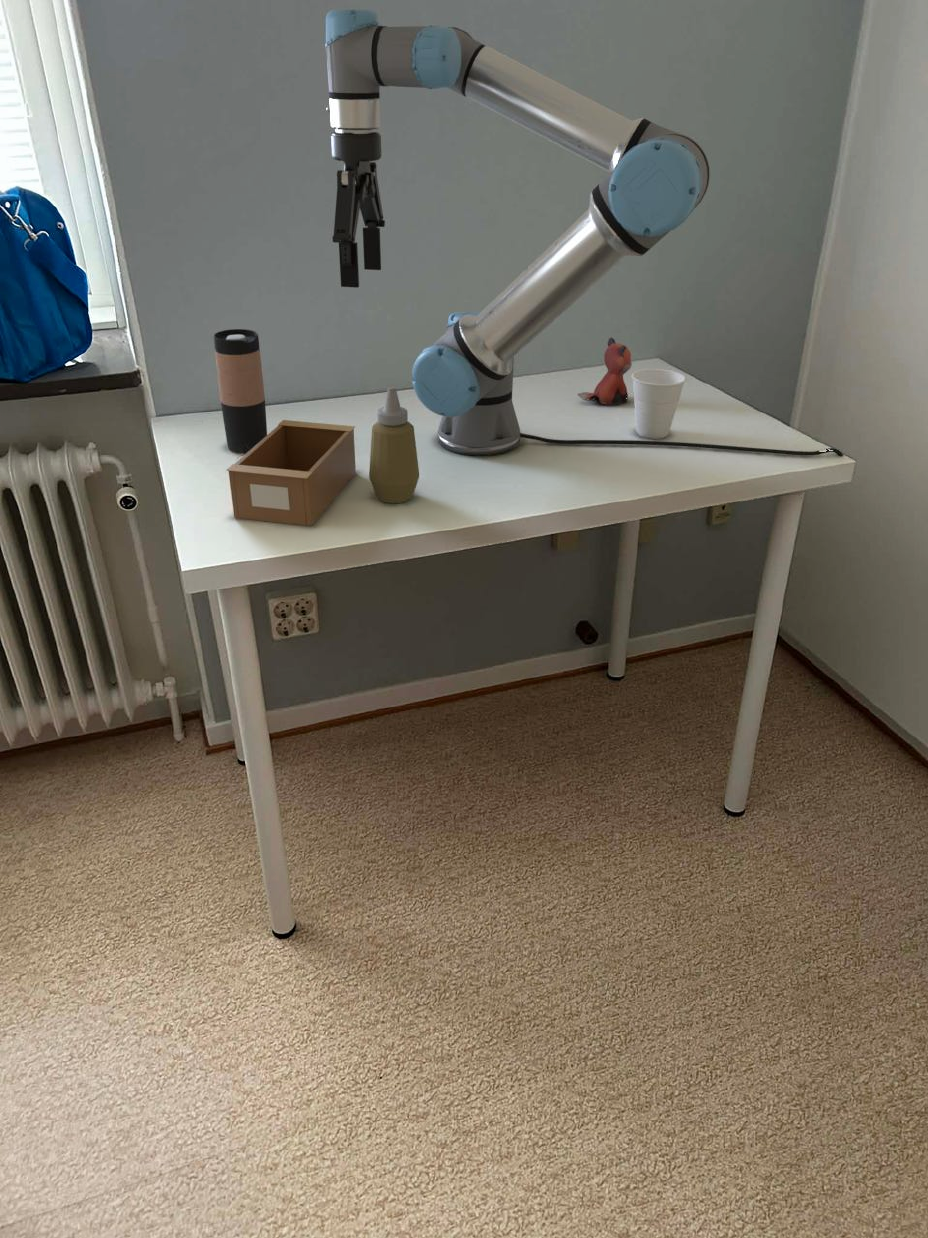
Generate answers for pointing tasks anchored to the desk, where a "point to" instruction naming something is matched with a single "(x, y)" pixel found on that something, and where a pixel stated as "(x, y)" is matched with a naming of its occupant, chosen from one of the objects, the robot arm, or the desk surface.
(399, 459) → the squeeze bottle
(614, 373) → the stuffed fox
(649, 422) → the cup
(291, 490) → the wooden box
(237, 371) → the travel mug
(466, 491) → the desk surface
